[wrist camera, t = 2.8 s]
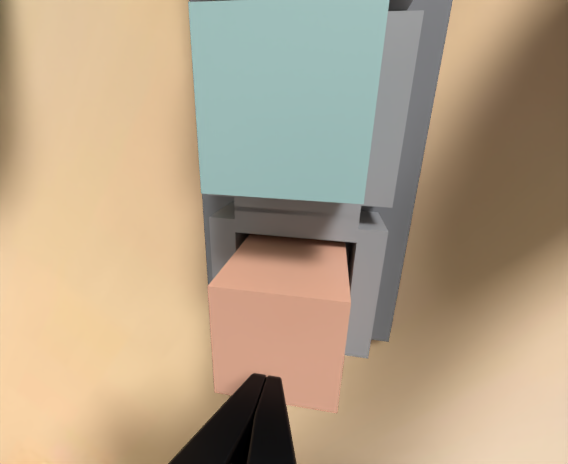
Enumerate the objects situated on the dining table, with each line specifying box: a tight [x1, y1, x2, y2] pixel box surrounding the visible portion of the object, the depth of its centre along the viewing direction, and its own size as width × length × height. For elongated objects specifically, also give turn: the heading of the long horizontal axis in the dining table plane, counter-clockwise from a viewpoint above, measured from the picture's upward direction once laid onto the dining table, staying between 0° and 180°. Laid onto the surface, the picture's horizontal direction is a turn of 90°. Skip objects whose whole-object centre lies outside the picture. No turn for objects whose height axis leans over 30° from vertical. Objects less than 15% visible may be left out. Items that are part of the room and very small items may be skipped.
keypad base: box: [189, 0, 453, 358], centre depth 13 cm, size 11×24×4 cm, turn 178°
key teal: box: [188, 0, 389, 204], centre depth 9 cm, size 4×4×5 cm
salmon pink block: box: [208, 234, 351, 413], centre depth 12 cm, size 4×4×5 cm
